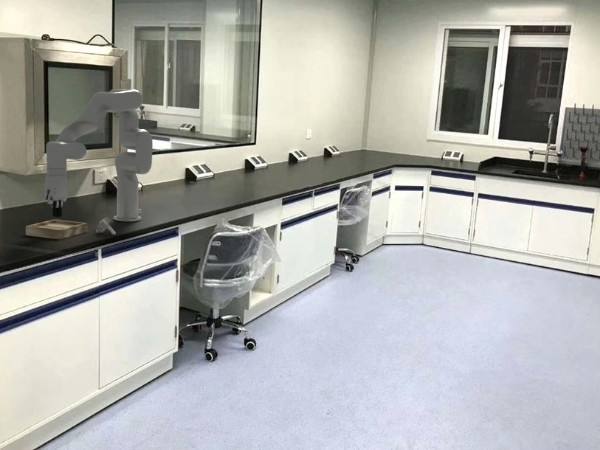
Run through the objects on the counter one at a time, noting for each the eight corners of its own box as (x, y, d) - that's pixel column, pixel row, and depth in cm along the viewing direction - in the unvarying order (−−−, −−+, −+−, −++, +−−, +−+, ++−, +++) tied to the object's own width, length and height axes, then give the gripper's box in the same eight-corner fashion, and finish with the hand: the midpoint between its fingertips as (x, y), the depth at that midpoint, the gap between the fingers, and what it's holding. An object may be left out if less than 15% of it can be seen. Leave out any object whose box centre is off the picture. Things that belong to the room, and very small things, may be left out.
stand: (94, 232, 252) (101, 218, 249) (103, 231, 256) (111, 217, 253) (105, 244, 250) (112, 230, 246) (114, 243, 254) (121, 229, 250)
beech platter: (54, 227, 258) (54, 219, 258) (87, 231, 254) (87, 223, 254) (25, 235, 241) (25, 226, 240) (60, 239, 237) (60, 230, 237)
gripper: (60, 170, 251) (60, 213, 255) (36, 172, 237) (37, 218, 240) (76, 171, 249) (76, 214, 253) (52, 174, 235) (53, 220, 238)
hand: (57, 216), depth 247 cm, fingers closed
